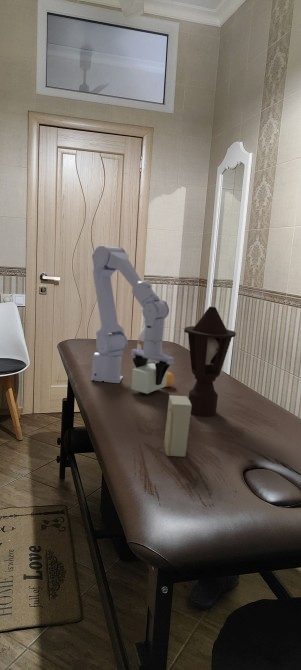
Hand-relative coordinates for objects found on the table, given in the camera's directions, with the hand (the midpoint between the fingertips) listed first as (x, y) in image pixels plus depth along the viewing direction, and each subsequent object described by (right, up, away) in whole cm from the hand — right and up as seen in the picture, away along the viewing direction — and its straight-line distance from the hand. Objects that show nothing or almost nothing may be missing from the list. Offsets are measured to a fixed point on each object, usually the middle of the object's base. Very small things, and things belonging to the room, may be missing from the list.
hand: (149, 382), depth 148 cm
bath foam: (-2, +2, +27) cm, 27 cm away
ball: (+6, 0, +7) cm, 9 cm away
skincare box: (+6, -12, -41) cm, 43 cm away
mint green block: (0, -2, 0) cm, 2 cm away
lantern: (+15, -7, -14) cm, 21 cm away
